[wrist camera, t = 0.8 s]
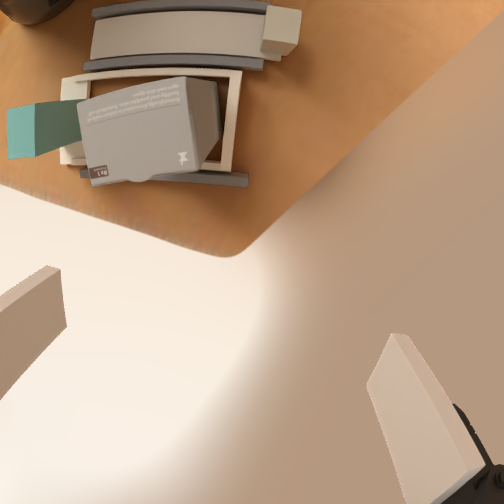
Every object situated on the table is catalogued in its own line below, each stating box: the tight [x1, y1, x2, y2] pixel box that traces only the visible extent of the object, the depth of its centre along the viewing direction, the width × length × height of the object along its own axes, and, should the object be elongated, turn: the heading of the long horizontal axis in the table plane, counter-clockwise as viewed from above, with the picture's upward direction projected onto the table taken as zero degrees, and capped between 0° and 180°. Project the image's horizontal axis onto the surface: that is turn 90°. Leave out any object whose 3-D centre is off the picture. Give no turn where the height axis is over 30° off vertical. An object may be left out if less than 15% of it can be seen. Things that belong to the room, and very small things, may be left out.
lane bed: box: [80, 0, 272, 188], centre depth 27 cm, size 21×20×2 cm
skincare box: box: [77, 76, 222, 187], centre depth 23 cm, size 8×7×16 cm
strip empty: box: [90, 5, 302, 62], centre depth 22 cm, size 5×22×7 cm, turn 83°
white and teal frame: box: [7, 68, 242, 172], centre depth 25 cm, size 11×22×11 cm, turn 83°
